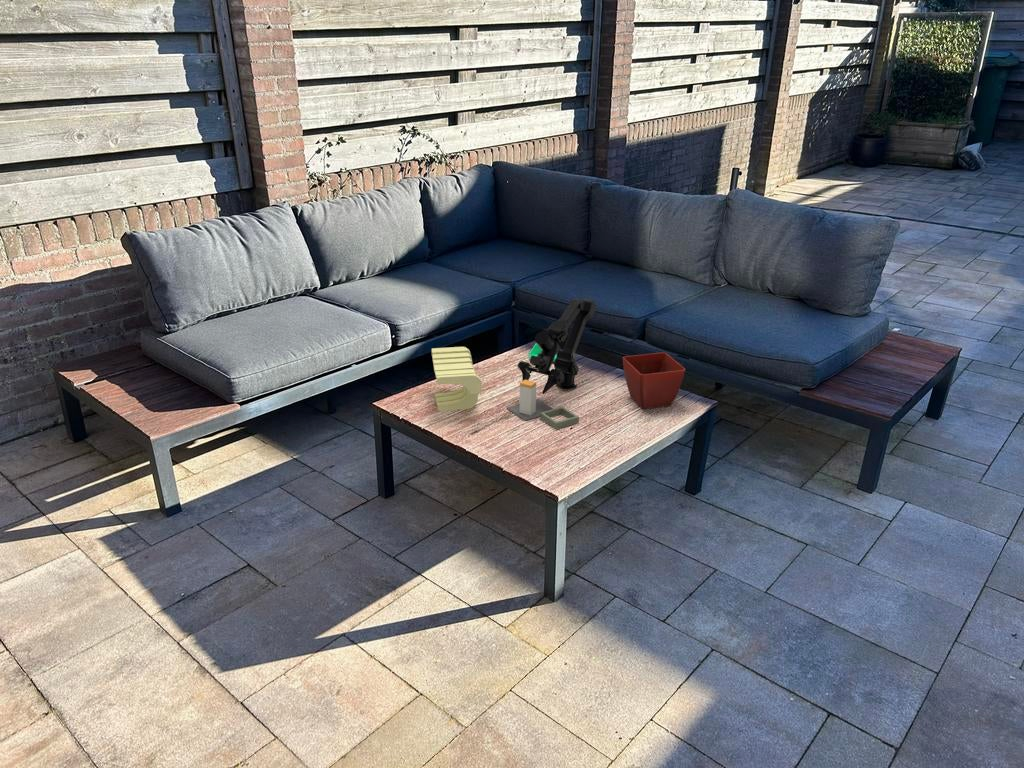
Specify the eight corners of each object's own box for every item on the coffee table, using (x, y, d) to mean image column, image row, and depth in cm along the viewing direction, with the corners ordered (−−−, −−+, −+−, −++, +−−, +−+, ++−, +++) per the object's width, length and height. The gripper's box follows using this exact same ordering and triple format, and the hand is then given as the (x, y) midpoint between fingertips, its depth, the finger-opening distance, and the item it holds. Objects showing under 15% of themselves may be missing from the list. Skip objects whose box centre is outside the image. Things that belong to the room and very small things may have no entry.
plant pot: (637, 414, 315) (641, 374, 308) (619, 394, 331) (621, 356, 325) (682, 408, 319) (686, 369, 312) (661, 389, 336) (665, 352, 329)
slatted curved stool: (481, 417, 311) (481, 374, 303) (440, 420, 308) (439, 377, 301) (470, 386, 338) (470, 346, 330) (432, 388, 335) (431, 348, 328)
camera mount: (531, 365, 359) (532, 343, 355) (528, 358, 366) (529, 337, 362) (558, 364, 361) (558, 342, 357) (554, 357, 368) (555, 336, 364)
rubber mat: (538, 400, 325) (538, 398, 325) (556, 412, 315) (556, 410, 315) (506, 408, 318) (506, 407, 318) (524, 421, 308) (524, 419, 308)
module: (524, 408, 317) (525, 379, 312) (535, 411, 314) (536, 382, 309) (519, 412, 313) (519, 382, 308) (530, 415, 311) (531, 385, 306)
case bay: (562, 412, 315) (562, 406, 314) (578, 422, 307) (579, 416, 306) (540, 418, 310) (540, 412, 309) (556, 429, 302) (556, 423, 301)
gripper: (519, 341, 315) (504, 377, 311) (561, 351, 306) (546, 388, 302) (530, 354, 325) (515, 388, 321) (571, 363, 316) (556, 399, 312)
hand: (532, 390), depth 314 cm, fingers open, 9 cm apart
